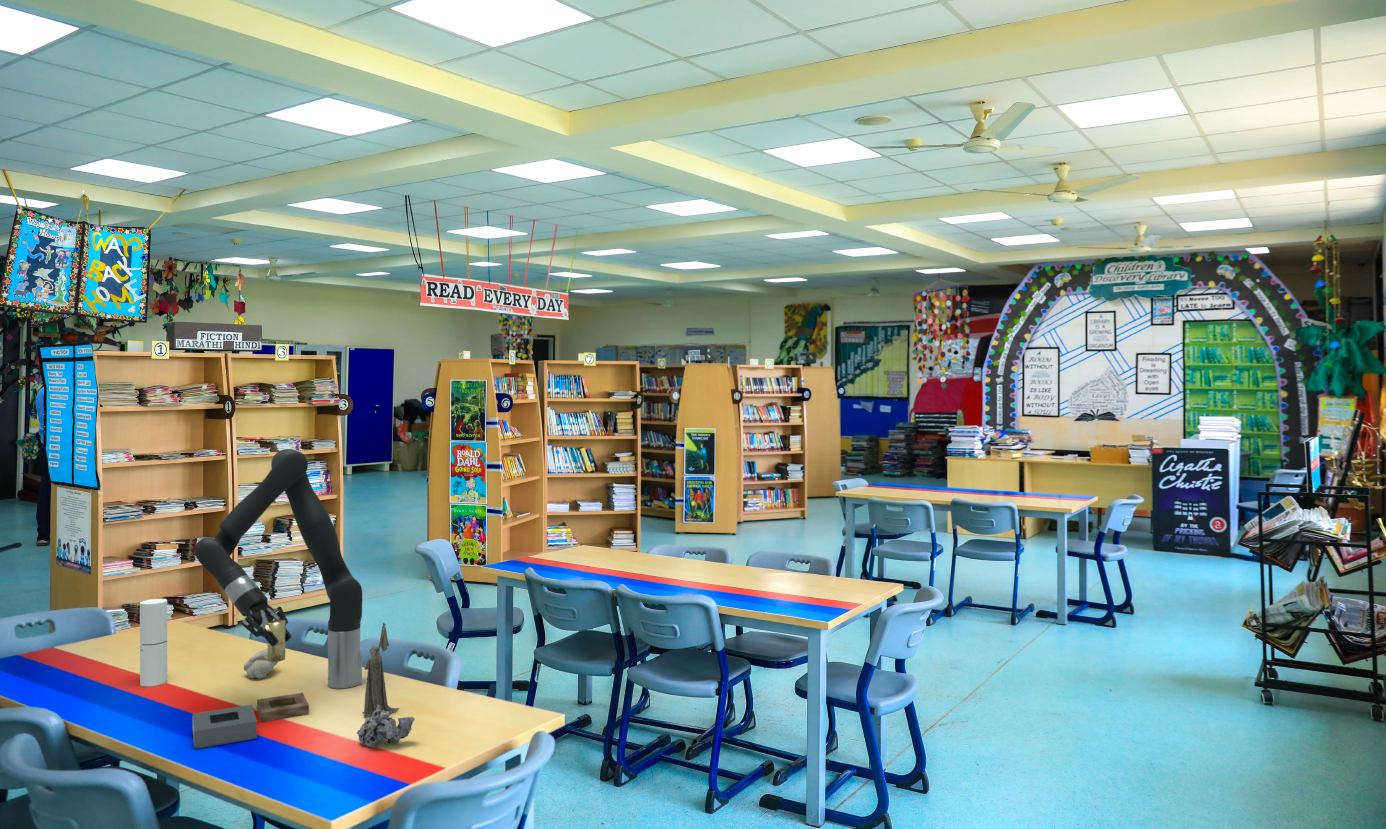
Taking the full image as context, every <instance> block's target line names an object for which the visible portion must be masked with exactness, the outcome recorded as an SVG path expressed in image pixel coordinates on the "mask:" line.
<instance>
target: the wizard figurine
mask: <svg viewBox="0 0 1386 829" xmlns="http://www.w3.org/2000/svg"><path fill="white" fill-rule="evenodd" d="M380 632H381V633H380V636H379V637H380V638H379V642H378V646H377V645H372V646H371V647H370V649H369V655H370V657H368V658H367V660H366V663H365V666H364V670H365V671H366V670H367V675H366V676H367V677H366V684H365V695H364V703H363V704H364V706H363V711H362V714H364V715H363V719H366V718H368V717H372V714H373V712H374V711H375V710H376V708H377V705H380V706H381V707H382V710H384V711H386V712H387V711H389V714H390V716H391V715H393V714H395V713H396V712H397V711H398V709H400V708H399V707H391V706H389V704H388V697H387V691H386V690H387V688H386V682H385V681H386V680H385V673H384V672H385V671H384V665H383V655H381V654H380V650H382V652H386V651H387V650H388V647H389V646H390V643H389V639H388V631H387V627H386V622H383V623H382V627H381V631H380ZM380 648H381V649H380Z"/></svg>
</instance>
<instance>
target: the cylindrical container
mask: <svg viewBox="0 0 1386 829" xmlns="http://www.w3.org/2000/svg"><path fill="white" fill-rule="evenodd" d="M139 661H140V662H139V675H140V676H139V680H140V682H139V685H140V686H141V687H155V686H160V685H164V684H166V683H168V599H166V598H151V599H146V600H145V599H144V600H143V601H140V602H139Z"/></svg>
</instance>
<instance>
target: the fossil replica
mask: <svg viewBox="0 0 1386 829" xmlns="http://www.w3.org/2000/svg"><path fill="white" fill-rule="evenodd" d="M278 663H279V662H269V661H267V648H265V649H261V650H260V651H258V652H256V653H255V654H254V655H253V656H251V657H250V658H249V659H248V660H247V661H246V662H245V663H244V665H243V670H244V671H245V673H246V675H247V676H248V677H249V678H250V679H256V678H257V679H260V680H261V679H263V678H265V677H266V676H267V675H268V673H271V671H272V670H273V669H274V667H275V666H277V664H278Z"/></svg>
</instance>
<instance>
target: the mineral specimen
mask: <svg viewBox="0 0 1386 829" xmlns="http://www.w3.org/2000/svg"><path fill="white" fill-rule="evenodd" d="M364 719H365V720H364V723H362V724H361V726H360V728H359V729H358V730H357V732H356V734H357V736H358V742H360V744H361V745H363V746H366V747H370V748H374V747H376V746H377V745H378V743H380V742H381V741H383V740H384V739H385V740H386V739H387V741H386V743H387V744H388V745H389V744H390V745H391V744H392V745H399V744H400V741H401V740H402V739H405V738H407V737H408V736H409V734H410V733H411V731H412V726H413V724H414V721H415V720H416V718H415V717H413V716H406V717H398V718H397V720H398V724H397V721H396V719H395V718H393V716H391V715H390V714H389V711H387V712H386V711H384V710H382V707H381V706H380V705H377V708H376V710H375V711H374V712H373V714H372V717H367V718H364Z"/></svg>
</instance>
